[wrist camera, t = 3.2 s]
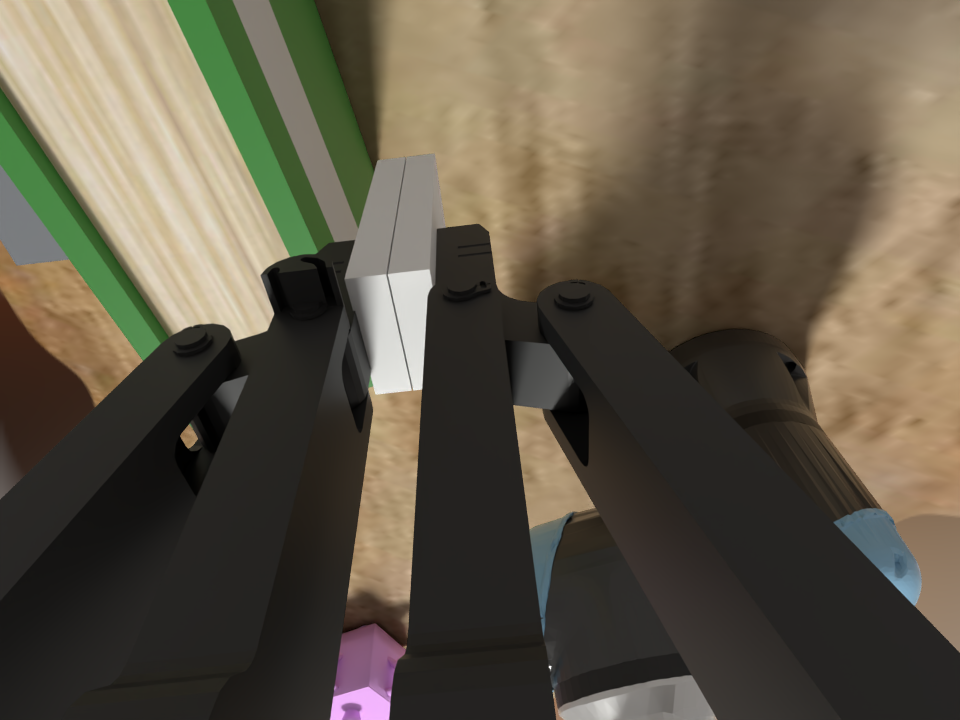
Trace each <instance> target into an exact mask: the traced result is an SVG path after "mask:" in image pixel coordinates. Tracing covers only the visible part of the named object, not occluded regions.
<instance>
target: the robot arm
mask: <svg viewBox="0 0 960 720" xmlns="http://www.w3.org/2000/svg"><path fill="white" fill-rule="evenodd" d="M260 276H261V278H262V281H263V284H264V287H265V289H266V292H267V295H268V298H269V300H270V303H271V306H272V309H273V311H274V316H273V318H272V321H271V323H270V325H269V328H268V330H267V331H265V332H263V333H260V334H257V335H253V336H250V337H247V338H243V339H240V340H236V341H235V340H234V338H233V336H232V333H231V331H230V329H228V328H227V327H226V326H224V325H220V324H214V323H212V324H198V325H193V327H192V326H190V327H187V328H184V329H183V330H182V331H180V332H178V333H176V334H174V335H172V336H170V337H169V338H168V339H166V340H165V341H164V342H162V343H161V344H160V345H159V346H158V347H157V348H156V349H155V350H154V351H153V352H152V353H151V354H150V355H149V356H148V357H147V358H146V359H145V360H144V361H143V362H142V363H141V364H140V365H139V366H138V367H136V368H135V369H134V370H133V371H132V372H131V373H130V374H129V375H128V376H127V377H126V378H125V379H124V380H123V381H122V382H121V383H120V384H119V385H118V386H117V387H116V388H115V389H114V390H113V391H112V392H111V393H110V394H109V395H108V396H107V397H106V398H105V399H103V400H102V401H101V402H100V403H99V404H98V405H97V406H96V407H95V408H94V409H93V410H92V411H91V412H90V413H89V414H88V415H87V416H86V417H85V418H84V419H83V420H82V421H81V422H80V423H79V424H78V425H77V426H76V427H75V428H74V429H73V430H72V431H71V432H69V433H68V434H67V435H66V436H65V437H64V439H62V440H61V441H60V442H59V443H58V444H57V445H56V446H55V447H54V448H53V449H52V450H51V451H50V452H49V453H48V454H47V455H46V456H45V457H44V458H43V459H42V460H41V461H40V462H39V463H38V464H37V465H36V466H34V467H33V469H31V470H30V471H29V472H28V473H27V474H26V475H25V476H24V477H23V478H22V479H21V480H20V481H19V482H18V483H17V484H16V485H15V486H14V487H13V488H12V489H11V490H10V491H9V492H8V493H7V494H6V495H5V496H4V497H2V498H1V500H0V720H330V717H331V710H332V702H333V695H334V688H335V681H336V674H337V666H338V659H339V652H340V645H341V638H342V630H343V623H344V616H345V609H346V602H347V594H348V587H349V580H350V573H351V566H352V559H353V551H354V544H355V537H356V530H357V523H358V515H359V508H360V501H361V494H362V487H363V479H364V472H365V465H366V458H367V451H368V443H369V436H370V429H371V422H372V415H373V407H372V402H371V398H370V395H369V391H368V387H369V381H370V375H371V379H372V383H373V387H374V390H375V394H384V393H393V392H402V391H412V386H413V390H421V389H422V401H421V418H420V436H419V453H418V471H417V488H416V505H415V523H414V540H413V558H412V575H411V592H410V610H409V627H408V640H407V648H406V651H405V654H404V655H403V656H402V657H401V658H399V659H398V660H397V664H396V667H395V671H394V675H393V683H392V691H391V701H390V714H389V720H556V714H555V708H554V707H555V706H554V699H553V692H555V697H556V702H557V707H558V712H559V716H560V717H562V718H563V719H564V720H716V719H715V716H716V718H717V720H960V653H959V652H958V651H957V650H956V648H955V647H953V645H952V644H951V643H949V641H948V640H947V639H946V638H945V637H944V636H943V635H942V634H941V633H940V632H939V631H938V630H937V629H936V628H935V627H934V626H933V625H932V624H931V623H930V622H929V621H928V620H927V619H926V618H925V616H923V615H922V613H921V612H920V611H919V610H918V609H917V608H916V607H915V605H916V603H917V601H918V598H919V595H920V591H921V583H922V581H921V580H922V579H921V572H920V569H919V566H918V564H917V562H916V559H915V558H914V556H913V555H912V553H911V552H910V550H909V549H908V547H907V546H906V544H905V543H904V541H903V540H902V538H901V536H900V535H899V534H898V532H897V531H896V526H895V524H894V521H893V519H892V517H891V516H890V515H889V514H888V513H887V512H886V511H884V510H883V509H882V508H881V507H880V505H879V504H878V503H877V501H876V500H875V499H874V497H873V496H872V495H871V493H870V492H869V491H868V489H867V488H866V487H865V485H864V484H863V483H862V481H861V480H860V479H859V477H858V476H857V475H856V473H855V472H854V471H853V469H852V468H851V467H850V465H849V464H848V463H847V462H846V460H845V459H844V458H843V456H842V455H841V454H840V452H839V451H838V450H837V448H836V447H835V446H834V444H833V443H832V442H831V440H830V439H829V438H828V437H827V435H826V434H825V433H824V431H823V430H822V429H821V427H820V426H819V424H818V422H817V418H816V413H815V409H814V404H813V400H812V395H811V391H810V386H809V382H808V378H807V375H806V373H805V371H804V369H803V367H802V365H801V364H800V362H799V361H798V360H797V358H796V357H795V356H794V355H793V353H792V352H791V351H790V350H789V348H788V347H787V346H786V345H785V344H784V343H782V342H781V341H780V340H778V339H776V338H775V337H773V336H771V335H768V334H765V333H762V332H759V331H754V330H745V329H732V330H723V331H717V332H713V333H709V334H705V335H702V336H699V337H697V338H694V339H692V340H690V341H688V342H686V343H684V344H682V345H680V346H678V347H677V348H675V349H674V350H672V351H671V352H668V351H667V350H666V349H665V348H664V347H663V346H662V345H661V344H660V343H659V342H658V341H657V340H656V339H655V338H654V337H653V336H652V335H651V334H650V332H649V331H648V330H647V329H646V328H645V327H644V326H643V325H642V324H641V323H640V322H639V321H638V320H637V319H636V318H635V317H634V316H633V315H632V314H631V313H630V312H629V311H628V310H627V309H626V308H625V307H624V306H623V305H622V304H621V303H620V301H619V300H618V299H617V298H616V297H615V296H614V295H613V294H612V293H611V292H610V291H609V290H607V289H606V288H604V287H603V286H601V285H600V284H596V283H593V282H589V281H585V280H579V281H578V280H569V281H564V282H559V283H556V284H553V285H551V286H548V287H547V288H545V289H544V290H543V291H541V292H540V294H539V296H538V298H537V302H526V301H519V300H515V299H512V298H509V297H507V296H506V295H504V294H502V293H501V292H500V291H499V290H498V288H497V285H496V279H495V272H494V265H493V258H492V251H491V243H490V236H489V232H488V231H487V230H486V229H485V228H483V227H482V226H481V225H480V224H473V225H464V226H456V227H447V228H446V226H445V220H444V213H443V206H442V199H441V192H440V186H439V179H438V172H437V165H436V158H435V154H427V155H418V156H410V157H407V159H406V157H401V158H393V159H385V160H378V161H377V164H376V168H375V171H374V175H373V179H372V182H371V186H370V189H369V193H368V196H367V200H366V204H365V207H364V211H363V214H362V218H361V221H360V225H359V229H358V232H357V236H356V239H355V240H349V241H341V242H332V243H328V244H327V245H326V246H324V247H323V248H322V249H321V250H320V251H319V252H318V253H316V254H303V255H298V256H293V257H289V258H286V259H283V260H281V261H278V262H276V263H274V264H273V265H271V266H269V267H268V268H266V269H265V270H264V272H263V273H262V274H261V275H260ZM513 405H518V406H526V407H534V408H542V409H543V414H544V418H545V420H546V422H547V424H548V426H549V427H550V429H551V431H552V432H553V434H554V436H555V438H556V439H557V441H558V443H559V445H560V446H561V448H562V450H563V452H564V453H565V455H566V457H567V459H568V460H569V462H570V464H571V466H572V467H573V469H574V471H575V473H576V474H577V476H578V478H579V480H580V481H581V483H582V485H583V486H584V488H585V490H586V492H587V493H588V495H589V497H590V499H591V500H592V502H593V504H594V506H595V507H596V508H594V509H590V510H586V511H582V512H570V513H568V514H566V515H565V516H564V517H562V518H559V519H556V520H554V521H550V522H547V523H544V524H541V525H538V526H535V527H533V528H532V529H530V530H529V523H528V516H527V508H526V500H525V493H524V485H523V477H522V470H521V462H520V455H519V447H518V439H517V432H516V424H515V416H514V409H513ZM189 423H190V424H191V426H192V428H193V430H194V432H195V433H196V435H197V437H198V440H197V441H196V442H195V444H194V445H193V446H192V447H191V448H189V449H188V448H187V447H186V446H185V444H184V442H183V441H182V439H181V437H180V435H181V433H182V432H183V431H184V430H185V428H186V427H187V426H188V425H189Z"/></svg>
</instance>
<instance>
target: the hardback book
mask: <svg viewBox="0 0 960 720" xmlns="http://www.w3.org/2000/svg"><path fill="white" fill-rule="evenodd" d="M0 165H1V166H2V168H3V169H4V171H5V172H6V173H7V175H8V176H9V177H10V179H11V180H12V182H13V183H14V184H15V186H16V187H17V188H18V190H19V191H20V193H21V194H22V195H23V197H24V198H25V199H26V201H27V202H28V203H29V205H30V206H31V208H32V209H33V210H34V212H35V213H36V214H37V216H38V217H39V219H40V220H41V221H42V223H43V224H44V225H45V227H46V228H47V230H48V231H49V232H50V234H51V235H52V236H53V238H54V239H55V241H56V242H57V243H58V245H59V246H60V247H61V249H62V250H63V252H64V253H65V254H66V256H67V257H68V258H69V260H70V261H71V262H72V264H73V265H74V267H75V268H76V269H77V271H78V272H79V273H80V275H81V276H82V278H83V279H84V280H85V282H86V283H87V284H88V286H89V287H90V289H91V290H92V291H93V293H94V294H95V295H96V297H97V298H98V300H99V301H100V302H101V304H102V305H103V306H104V308H105V309H106V310H107V312H108V313H109V315H110V316H111V317H112V319H113V320H114V321H115V323H116V324H117V326H118V327H119V328H120V330H121V331H122V332H123V334H124V335H125V337H126V338H127V339H128V341H129V342H130V343H131V345H132V346H133V348H134V349H135V350H136V352H137V353H138V354H139V356H140V357H141V359H142V360H143V361H144V360H145V359H146V358H147V357H148V356H149V355H150V354H151V353H152V352H153V351H154V350H155V349H156V348H157V347H158V346H159V345H160V344H161V343H162V342H164V341H165V340H166V339H168V338H169V337H170V336H172V335H174V334H176V333H178V332H180V331H182V330H183V329H184V328H187V327H190V326H192V327H193V325H198V324H212V323H214V324H220V325H224V326H226V327H227V328H228V329H230V331H231V333H232V336H233V338H234V340H235V341H236V340H240V339H243V338H247V337H250V336H253V335H257V334H260V333H263V332H265V331H267V330H268V328H269V325H270V323H271V321H272V318H273V316H274V311H273V309H272V306H271V303H270V300H269V298H268V295H267V292H266V289H265V287H264V284H263V281H262V278H261V276H260V275H261V274H262V273H263V272H264V270H265V269H266V268H268V267H269V266H271V265H273V264H274V263H276V262H278V261H281V260H283V259H286V258H289V257H293V256H298V255H303V254H316V253H318V252H319V251H320V250H321V249H322V248H323V247H324V246H326V245H327V244H328V243H332V242H341V241H349V240H355V239H356V236H357V232H358V229H359V225H360V221H361V218H362V214H363V211H364V207H365V204H366V200H367V196H368V193H369V189H370V186H371V182H372V179H373V175H374V169H373V166H372V163H371V160H370V158H369V155H368V152H367V149H366V146H365V143H364V141H363V138H362V135H361V132H360V129H359V126H358V124H357V121H356V118H355V115H354V112H353V109H352V107H351V104H350V101H349V98H348V95H347V92H346V89H345V87H344V84H343V81H342V78H341V75H340V72H339V70H338V67H337V64H336V61H335V58H334V55H333V53H332V50H331V47H330V44H329V41H328V38H327V36H326V33H325V30H324V27H323V24H322V21H321V18H320V16H319V13H318V10H317V7H316V4H315V1H314V0H0ZM372 386H373V383H372V379H371V375H370V381H369V387H372ZM189 424H190V423H189ZM190 426H191V424H190ZM191 427H192V426H191Z"/></svg>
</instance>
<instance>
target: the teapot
mask: <svg viewBox="0 0 960 720" xmlns="http://www.w3.org/2000/svg"><path fill="white" fill-rule="evenodd" d="M405 651H406V649H404V648H403V647H402V646H401V645H400V644H399V643H397V642H396V641H395V640H394V639H393V638H392V637H391V636H389V635H388V634H387V633H386V632H385V631H384V630H383V629H382V628H380V627H379V626H378V625H377V624H376V623H373V624H370V625H364V626H361V627H359V628H358V629H355V630H352V631H349V632H346V633H342V638H341V645H340V652H339V659H338V666H337V674H336V681H335V688H334V695H333V702H332V710H331V717H330V720H388V719H389V714H390V701H391V691H392V683H393V675H394V671H395V667H396V664H397V660H398V659H399V658H401V657H402V656H403V655H404V654H405Z"/></svg>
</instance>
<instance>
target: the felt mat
mask: <svg viewBox="0 0 960 720" xmlns="http://www.w3.org/2000/svg"><path fill="white" fill-rule="evenodd" d="M0 240H1V241H2V243H3V245H4V246H5V248H6V249H7V251H8V253H9V254H10V256H11V257H12V259H13V260H14V262H15V264H16V265H25V264H34V263H42V262H51V261H60V260H68V259H69V258H68V257H67V256H66V254H65V253H64V252H63V250H62V249H61V247H60V246H59V245H58V243H57V242H56V241H55V239H54V238H53V236H52V235H51V234H50V232H49V231H48V230H47V228H46V227H45V225H44V224H43V223H42V221H41V220H40V219H39V217H38V216H37V214H36V213H35V212H34V210H33V209H32V208H31V206H30V205H29V203H28V202H27V201H26V199H25V198H24V197H23V195H22V194H21V193H20V191H19V190H18V188H17V187H16V186H15V184H14V183H13V182H12V180H11V179H10V177H9V176H8V175H7V173H6V172H5V171H4V169H3V168H2V166H1V165H0Z"/></svg>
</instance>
